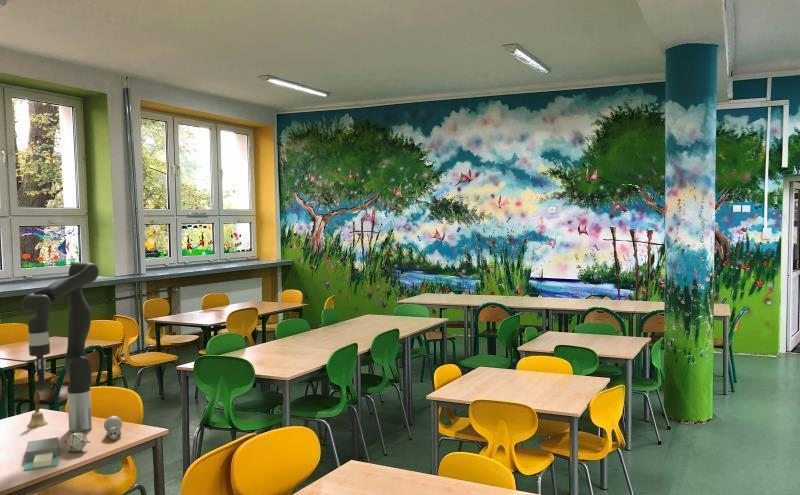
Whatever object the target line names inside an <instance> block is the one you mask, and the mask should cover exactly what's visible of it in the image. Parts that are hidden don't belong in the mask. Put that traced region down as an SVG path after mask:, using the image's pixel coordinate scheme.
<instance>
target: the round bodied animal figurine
mask: <svg viewBox="0 0 800 495" xmlns="http://www.w3.org/2000/svg"><path fill="white" fill-rule="evenodd" d="M122 426H123V420H122V418H120V417H119V416H116V415H111V416H109V417H107V418H106V420H105V421H104V422H103V427H104V429H105V431H106V436H107V437H109V438H110V440H111V441H115V440H117V439H118V436H121V434H122Z"/></svg>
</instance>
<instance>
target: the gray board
mask: <svg viewBox="0 0 800 495" xmlns="http://www.w3.org/2000/svg"><path fill="white" fill-rule="evenodd" d="M59 439H60V438H59V436H58V437H51V438H45V439H35V440H30V441H27V443H26V444H27V445H26V448H25V452H24V453H25V454H24V455H25V462H27V461H34V458H35V455H38V454H45V453H52V452H53V457H57V458H59V457H58V456H59V448H60V444H59V442H60V441H59Z"/></svg>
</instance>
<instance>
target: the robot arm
mask: <svg viewBox="0 0 800 495" xmlns="http://www.w3.org/2000/svg"><path fill="white" fill-rule="evenodd" d="M99 273H100V272H99V268H98V266H97V265H96V264H95V263H93V262H82V261H81V262H80V261H76V262H73V263H71V264H70V266H69V268H68V277H66V278H65V277H64V278H62V279H59V280H57V281H54V282H52V283H50V284H48V285H47V286H45V287H44V288H42V289H39V290H36V291H33V292H31V293H29V294H27V295H26V296H24V298H23V299H22V300H21V307H22V309H23V310H24V311H26V312H28V313H29V312H30V313H36V315H35V317H33V318H29V319H28V323H27V326H28V328H27V329H28V337H27V338H28V354H29V356H30V357H36V359H35V358H34V366H35V371H36V376H37V382H38V386H45V383H46V382H45V374H46V362H47V361H46V360H47V359H46V357H44V356H47V355H49V354H50V353H51V345H50V343H51V342H50V335H49V324H48V323H49V317H50V314H51V313H50V312H51V309H52V303H53V304H54V303H55V302H57V301H59V300H60V299H62V298H63V297H65V296H66V295H67V294H68V295H69V296H68V297H69V300H68V301H69V302H68V305H69V306H68V315H67V316H68V317H67V319H68V320H67V347H66V353H65V361H64V369H65V372H66V373H67V374H69V375H68V376H69V384H68V386H67V410H68V412H67V413H68V414H67V415H68V430H69V432H72V431H73V432H74V433H80V432H84V431H85V432H86V431H88V430H92V429H93V427H92V426H93V425H92V402H91V401H92V400H91V398H92V397H91V386H92V379H93V378H92V363H91V361H90V359H88V358H87V357H86V352H85V349H86V348H85V347H86V341H87V338H88V336H89V332H90V329H91V323H92V322H91V321H92V310H91V307H90V305H89V304H88V302H87V300H86V298H85V295H84V293H83V287H84V286H87V285H89V284H92V283H93V282H95V281H96V280H97V279H98V277H99Z"/></svg>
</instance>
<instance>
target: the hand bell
mask: <svg viewBox="0 0 800 495" xmlns="http://www.w3.org/2000/svg"><path fill="white" fill-rule="evenodd" d="M40 401H41V394H40V391H39V390H38V389H37V390H35V391H34V394H33V402H34V406H35V407H34V410H35V411H33V412H32V413H31V418H30V421H29V423H27V427H28V428H38V427H43V426H46V425H48V422H49V421H46V419H45V417H44V413H43V411H40Z"/></svg>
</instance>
